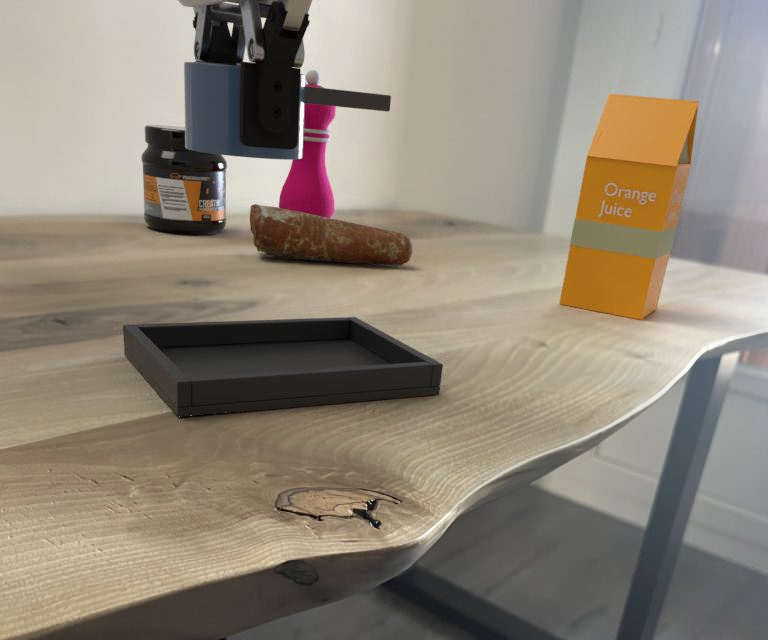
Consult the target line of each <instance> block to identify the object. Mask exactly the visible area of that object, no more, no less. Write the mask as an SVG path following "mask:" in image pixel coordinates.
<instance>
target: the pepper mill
mask: <svg viewBox="0 0 768 640" xmlns="http://www.w3.org/2000/svg"><path fill="white" fill-rule="evenodd" d="M305 75H306V86H309V87H318V88H325V87H324V86H321V85H319V84H320V83H321V75H320V73H319V72H318V71H317V70H316V69H310V70H308V72H306V74H305ZM336 107H337V106H327V105H317V104H307V103H305V113H304V137H303V157H302V159H296V160H292V161H291V165H290V168H289V171H288V174H287V176H286V179H285V181H284V183H283V185H282V187H281V190H280V195H279V199H278V200H279V201H278V208H282V209H287V210H292V211H298V212H302V213H307V214H312V215H318V216H322V217H327V218H331V219H332V216H333V215H334V213H335V199H334V198H335V197H334V192H333V189H332V186H331V183H330V180H329V176H328V172H327V166H326V149H327V143H330V142H331V139H330V134H331V130H329V129H328V128H329V126H330V124H331V123H332V122H333V121H334V119H335V117H336V112H337V111H336V110H337V109H336Z"/></svg>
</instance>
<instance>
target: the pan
mask: <svg viewBox="0 0 768 640" xmlns="http://www.w3.org/2000/svg"><path fill="white" fill-rule="evenodd" d="M306 75H307V74H303V73H300V97H299V123H298V144H297V146H296V147H295V148H294V149H277V148H263V147H249V146H245V145H243V144H242V143H241V141H240V65H230V64H219V63H207V62H195V61H185V62H183V84H184V85H183V86H184V87H183V88H184V94H183V95H184V127H185V147H186V149H189V150H193V151H198V152H204V153H212V154H220V155H222V156H230V157H239V158H253V159H267V160H286V161H287V160H292V161H293V160H296V159H302V157H303V137H304V113H305V103H307V104H317V105H327V106H336V107H338V108H348V109H358V110H366V111H367V110H368V111H378V112H390V111H391V101H392V96H391V95H389V94H381V93H371V92H363V91H355V90H346V89H345V90H344V89H336V88H328V87H324V88H318V87H309V86H306V84H307V81H306Z"/></svg>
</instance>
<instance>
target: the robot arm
mask: <svg viewBox="0 0 768 640" xmlns="http://www.w3.org/2000/svg"><path fill="white" fill-rule="evenodd" d="M177 1H178V2H179V4H180V5H181V6H183V7H186V8H187V7H188V8H192V9H193V14H194V16H193V19H192V27H193V29H194V30H195V34H194V43H193V56H194V59H195V61H194V62H207V63H219V64H230V65H240V141H241V143H242V144H243V145H245V146H249V147H263V148H277V149H294V148H295V147H296V146H297V144H298V123H299V97H300V74H301V69H302V67H303V65H304V61H305V53H306V52H305V45H304V36H305V33H306V31H307V29H308V27H309V26H310V22H311V21H310V20H309V17H310V14H309V11H310V8H311V5H312V3H313V0H177ZM262 19H265V20H264V24H263V22H262ZM229 23H230V24H232V30H231V32H230V28H229ZM245 52H246V55H247V59H248V61H244V58H245Z"/></svg>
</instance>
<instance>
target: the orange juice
mask: <svg viewBox="0 0 768 640" xmlns="http://www.w3.org/2000/svg"><path fill="white" fill-rule="evenodd" d="M699 103H700V101H699V100H686V99H677V98H665V97H652V96H643V95H641V96H639V95H630V94H629V95H628V94H618V93H617V94H616V93H609V94H608V97H607V100H606V102H605V104H604V108H603V110H602V114H601V116H600V119H599V122H598V125H597V127H596V130H595V133H594V135H593V138H592V141H591V144H590V147H589V149H588V152H587V154H586V158H585V159H586V160H585V165H584V171H583V174H582V175H583V176H582V181H581V187H580V191H579V197H578V203H577V208H576V211H575V212H576V213H575V217H574V221H573V226H572V231H571V237H570V243H569V245H570V246H569V249H568V250H569V251H568V256H567V261H566V266H565V272H564V277H563V283H562V288H561V293H560V299H559V304H558V305H562V306H568V307H572V308H579V309H583V310H588V311H594V312H598V313H603V314H610V315H614V316H620V317H625V318H630V319H635V320H639V321H642V320H644V319H645V318H646V317H648V316H649V315H650V314H652V313H653V312H655V311H656V310H657V309H658V305H659V301H660V297H661V293H662V288H663V284H664V279H665V276H666V271H667V268H668V264H669V260H670V255H671V252H672V249H673V245H674V240H675V237H676V232H677V227H678V221H679V217H680V213H681V210H682V205H683V200H684V197H685V193H686V188H687V184H688V180H689V175H690V172H691V168H692V156H693V148H694V141H695V134H696V126H697V118H698V111H699V110H698V109H699Z"/></svg>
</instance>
